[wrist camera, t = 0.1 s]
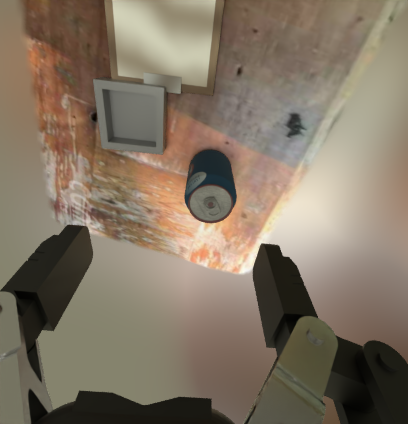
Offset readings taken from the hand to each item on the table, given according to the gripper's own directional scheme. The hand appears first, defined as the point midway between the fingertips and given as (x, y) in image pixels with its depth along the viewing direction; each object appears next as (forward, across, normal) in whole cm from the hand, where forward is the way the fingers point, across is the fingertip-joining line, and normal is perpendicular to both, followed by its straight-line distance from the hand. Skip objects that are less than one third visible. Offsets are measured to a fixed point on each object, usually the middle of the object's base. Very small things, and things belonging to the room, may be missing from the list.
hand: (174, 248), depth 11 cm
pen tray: (+29, +9, +1) cm, 31 cm away
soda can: (+29, -3, +8) cm, 31 cm away
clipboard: (+29, +5, -12) cm, 32 cm away
